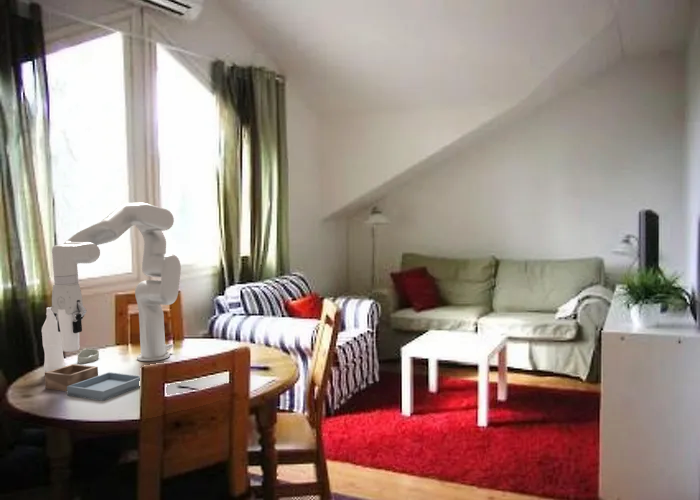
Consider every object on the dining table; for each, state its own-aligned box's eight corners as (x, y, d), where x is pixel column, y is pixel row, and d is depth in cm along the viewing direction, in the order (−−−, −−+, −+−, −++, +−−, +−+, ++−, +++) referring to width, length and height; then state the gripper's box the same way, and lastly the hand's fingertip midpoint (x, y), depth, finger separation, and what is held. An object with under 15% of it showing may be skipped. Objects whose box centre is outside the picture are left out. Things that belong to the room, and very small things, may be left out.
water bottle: (70, 372, 231) (66, 306, 229) (55, 377, 224) (50, 309, 222) (55, 371, 233) (50, 305, 231) (39, 376, 226) (35, 309, 225)
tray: (109, 380, 219) (109, 372, 219) (144, 384, 212) (143, 376, 212) (67, 395, 202) (66, 386, 202) (103, 400, 196) (103, 391, 196)
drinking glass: (65, 348, 217) (61, 306, 215) (84, 347, 217) (81, 305, 216) (57, 353, 210) (54, 310, 208) (78, 352, 210) (74, 309, 209)
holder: (74, 378, 222) (73, 363, 221) (98, 382, 217) (97, 366, 216) (45, 388, 211) (44, 372, 211) (70, 391, 206) (69, 375, 206)
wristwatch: (92, 357, 254) (92, 345, 254) (103, 359, 251) (102, 346, 251) (73, 362, 246) (72, 350, 245) (84, 364, 243) (83, 351, 243)
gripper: (39, 281, 211) (43, 332, 213) (75, 282, 204) (79, 335, 206) (57, 278, 218) (61, 327, 220) (93, 279, 211) (97, 331, 213)
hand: (70, 331), depth 213 cm, fingers closed on drinking glass, 6 cm apart
